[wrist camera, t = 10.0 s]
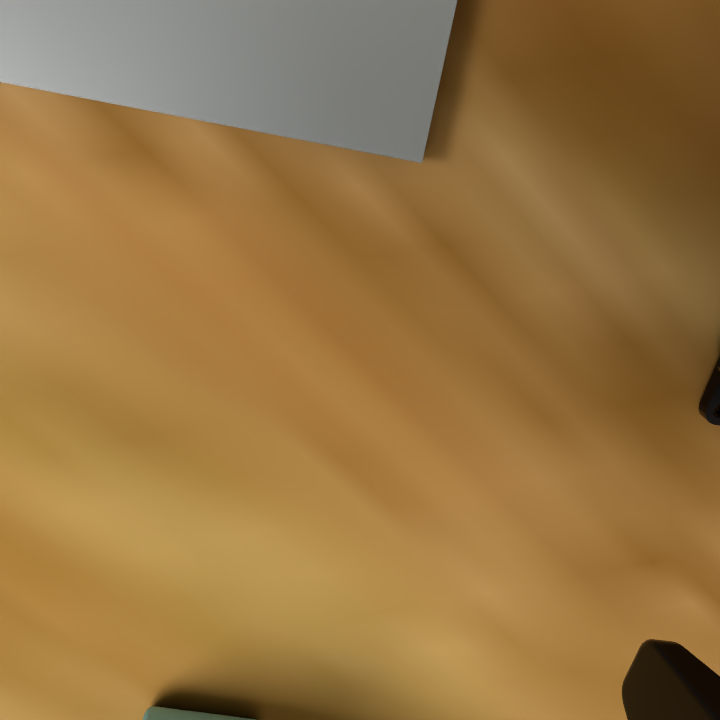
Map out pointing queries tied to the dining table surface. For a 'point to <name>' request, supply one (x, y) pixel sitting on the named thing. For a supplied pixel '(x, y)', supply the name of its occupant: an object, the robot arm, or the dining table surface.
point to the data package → (184, 715)
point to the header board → (244, 62)
